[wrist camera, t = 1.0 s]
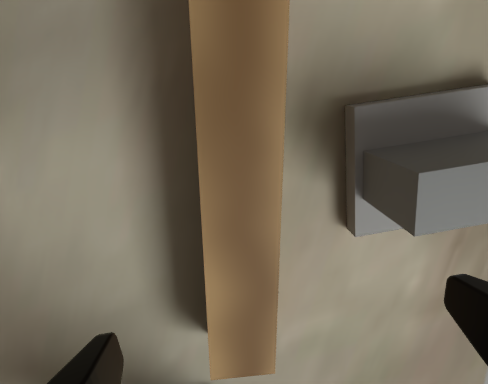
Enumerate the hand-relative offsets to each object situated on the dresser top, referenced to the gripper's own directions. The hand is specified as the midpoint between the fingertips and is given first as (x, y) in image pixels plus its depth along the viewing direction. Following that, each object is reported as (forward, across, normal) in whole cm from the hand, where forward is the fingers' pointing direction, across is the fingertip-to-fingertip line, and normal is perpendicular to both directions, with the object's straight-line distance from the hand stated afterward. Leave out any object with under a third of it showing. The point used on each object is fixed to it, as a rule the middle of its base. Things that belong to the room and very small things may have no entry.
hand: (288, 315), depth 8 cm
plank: (+11, 0, 0) cm, 11 cm away
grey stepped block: (+11, -11, 0) cm, 15 cm away
